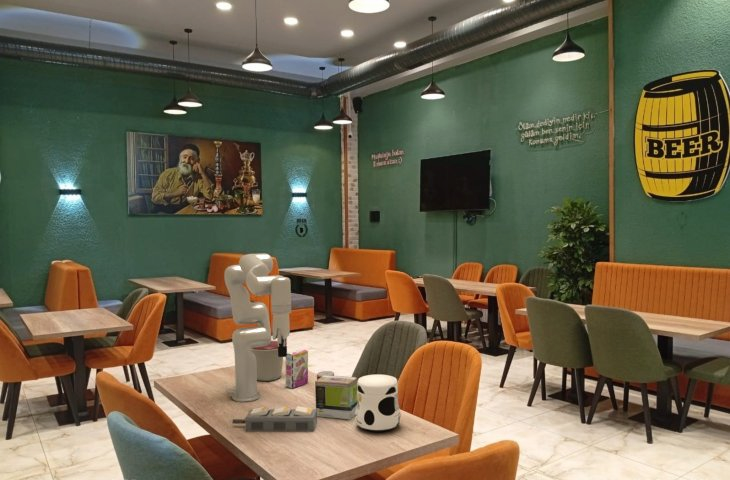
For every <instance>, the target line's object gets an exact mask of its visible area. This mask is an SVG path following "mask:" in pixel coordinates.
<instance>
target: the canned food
mask: <svg viewBox="0 0 730 480" xmlns="http://www.w3.org/2000/svg"><path fill="white" fill-rule="evenodd" d="M324 375H330V376H335V373H334V372H333V371H330V370H321V371H319V372H317V373H316V380H318V379H319V378H321V377H322V376H324Z"/></svg>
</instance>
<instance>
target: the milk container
mask: <svg viewBox="0 0 730 480" xmlns="http://www.w3.org/2000/svg"><path fill="white" fill-rule="evenodd" d="M357 398H358V401H357V407H356V411H355V415H354V416H355V422H356V424H357V426H358V427H360V429H362V430H365V431H368V432H387V431H390V430H394V429H395V428H396V427H398V426H399V424H400V421H401V409H400V404H399V385H398V379H397V378H396V377H394V376H393V375H388V374H368V375H363V376H361V377H359V378H357Z"/></svg>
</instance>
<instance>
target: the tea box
mask: <svg viewBox="0 0 730 480" xmlns="http://www.w3.org/2000/svg"><path fill="white" fill-rule="evenodd" d="M357 382H358V378H357V377H356V376H346V375H345V376H344V375H343V376H342V375H341V376H340V375H334V376H330V375H324V376H322V377H321V378H319V379H318V380H317V379H316V380H315V384H314V385H315V386H314V387H315V388H314V389H315V390H314V391H315V392H314V393H315V409H317V417H323V418H332V419H339V420H340V419H342V420H349V421H350V420H351V419H353V417H354V416H355V411H356V407H357V401H358V398H357V390H358V389H357Z"/></svg>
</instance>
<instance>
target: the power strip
mask: <svg viewBox="0 0 730 480" xmlns="http://www.w3.org/2000/svg"><path fill="white" fill-rule="evenodd" d="M253 409H254V408H250V410H249V412H248V413H247V414H246V415H245V418H243V419H242V418H235V419H232V424H236V425H237V424H243V425H244V424H245V427H244V428H245V429H244V430H245V432H314V431H315V429H316V427H317V424H318V416H317V409H316V408H315V409H314V408H312V409H313V410H312V413H311V415H310V416H299V415H295V410H296V408H291V411H290V413H289V414H288V415H284V416H273V414H272V413H273V412H274V410H275V409H276V408H272V409H271V408H269V411H268V413H267V414H266V415H261V416H251V415H250V413H251V412H252V410H253Z"/></svg>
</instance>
